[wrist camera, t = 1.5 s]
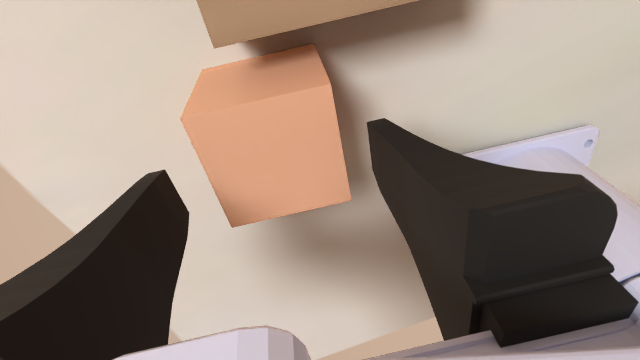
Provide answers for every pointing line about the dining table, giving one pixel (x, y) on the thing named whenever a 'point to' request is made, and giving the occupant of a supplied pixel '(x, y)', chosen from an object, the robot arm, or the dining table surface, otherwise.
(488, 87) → the dining table surface
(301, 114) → the terracotta block
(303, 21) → the light tan wooden block
